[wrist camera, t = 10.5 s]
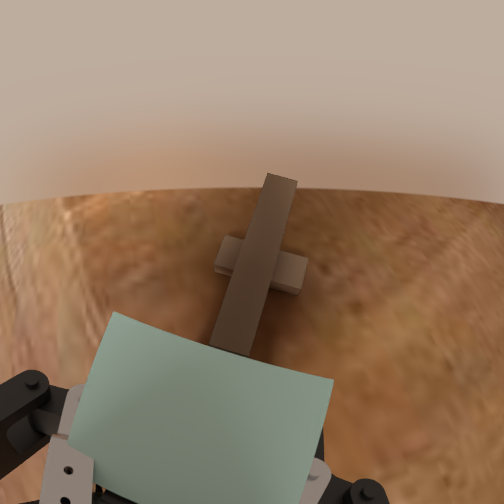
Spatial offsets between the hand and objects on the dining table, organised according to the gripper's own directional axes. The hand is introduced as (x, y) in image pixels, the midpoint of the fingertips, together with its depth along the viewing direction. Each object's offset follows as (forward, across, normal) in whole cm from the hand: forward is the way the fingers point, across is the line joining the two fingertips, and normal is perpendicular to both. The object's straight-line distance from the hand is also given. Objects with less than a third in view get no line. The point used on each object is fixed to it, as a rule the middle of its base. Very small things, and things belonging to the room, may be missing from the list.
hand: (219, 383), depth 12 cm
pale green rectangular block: (+2, 0, +5) cm, 6 cm away
